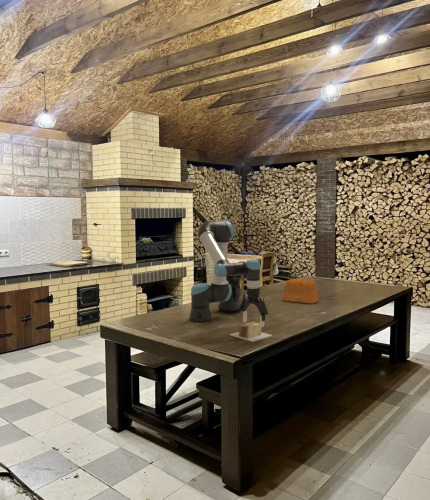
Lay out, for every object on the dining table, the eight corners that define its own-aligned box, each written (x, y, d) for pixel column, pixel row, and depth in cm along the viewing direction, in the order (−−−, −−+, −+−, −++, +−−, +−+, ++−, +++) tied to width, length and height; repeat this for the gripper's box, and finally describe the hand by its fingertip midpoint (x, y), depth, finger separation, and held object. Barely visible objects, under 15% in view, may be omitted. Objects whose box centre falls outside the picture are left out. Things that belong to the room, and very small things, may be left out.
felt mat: (229, 335, 251) (229, 334, 251) (249, 330, 262) (249, 329, 261) (252, 342, 238) (252, 340, 237) (272, 336, 248) (272, 335, 248)
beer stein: (225, 307, 324) (225, 273, 322) (249, 310, 314) (249, 275, 312) (214, 312, 310) (213, 276, 308) (238, 315, 300) (238, 278, 298)
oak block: (253, 332, 255) (239, 336, 247) (253, 321, 255) (238, 325, 246) (261, 334, 251) (246, 338, 243) (261, 323, 250) (246, 327, 242)
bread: (312, 304, 330) (312, 282, 329) (280, 301, 345) (280, 279, 343) (320, 301, 343) (320, 279, 342) (289, 298, 358) (289, 277, 356)
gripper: (274, 289, 242) (274, 327, 243) (242, 284, 260) (242, 319, 262) (265, 291, 237) (265, 329, 238) (233, 285, 255) (233, 321, 257)
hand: (253, 324), depth 250 cm, fingers open, 13 cm apart
